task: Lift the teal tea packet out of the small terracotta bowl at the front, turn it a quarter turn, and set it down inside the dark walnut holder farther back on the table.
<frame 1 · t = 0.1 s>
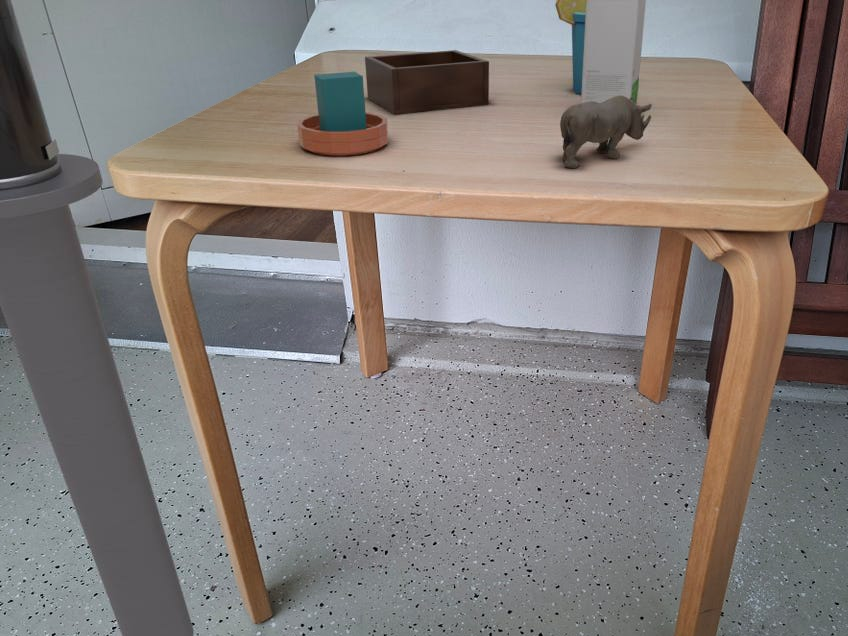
tea packet: (344, 141, 82), resting on bowl
bowl: (344, 145, 82), on the table
holder: (427, 101, 102), on the table
cosmetic box: (607, 115, 96), on the table
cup: (596, 92, 108), on the table
rhino figurine: (606, 156, 79), on the table
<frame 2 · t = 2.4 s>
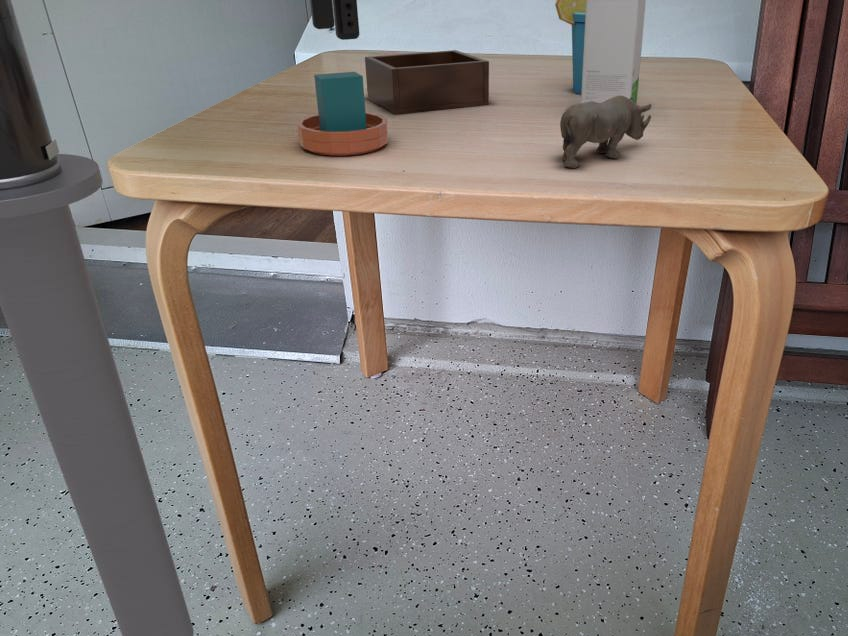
hand: (335, 33, 77), 11 cm above the table, tool pointing down, fingers open, 8 cm apart
nothing on the table moved.
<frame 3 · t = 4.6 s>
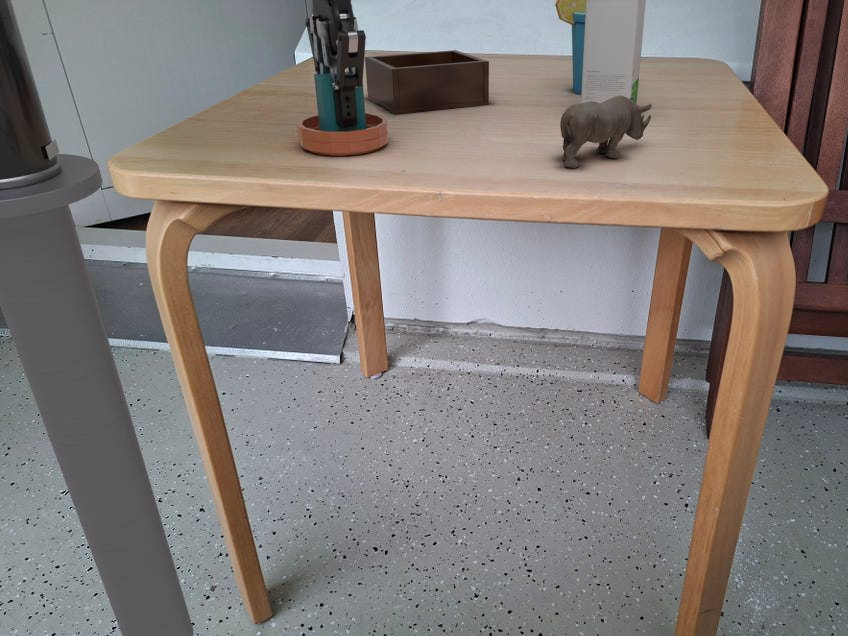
hand: (342, 122, 81), 3 cm above the table, tool pointing down, fingers closed on tea packet, 3 cm apart
tea packet: (344, 141, 82), resting on bowl, touching gripper
everything else where it was.
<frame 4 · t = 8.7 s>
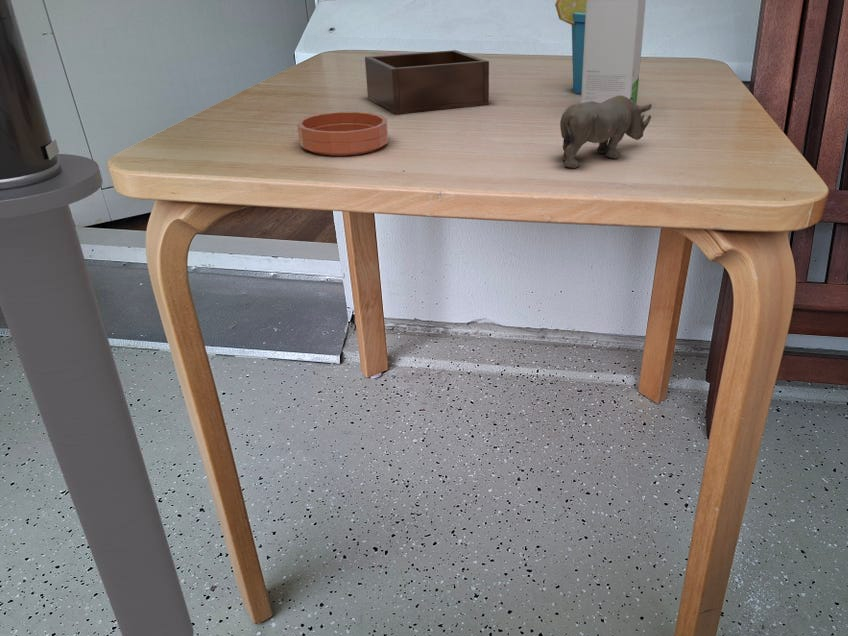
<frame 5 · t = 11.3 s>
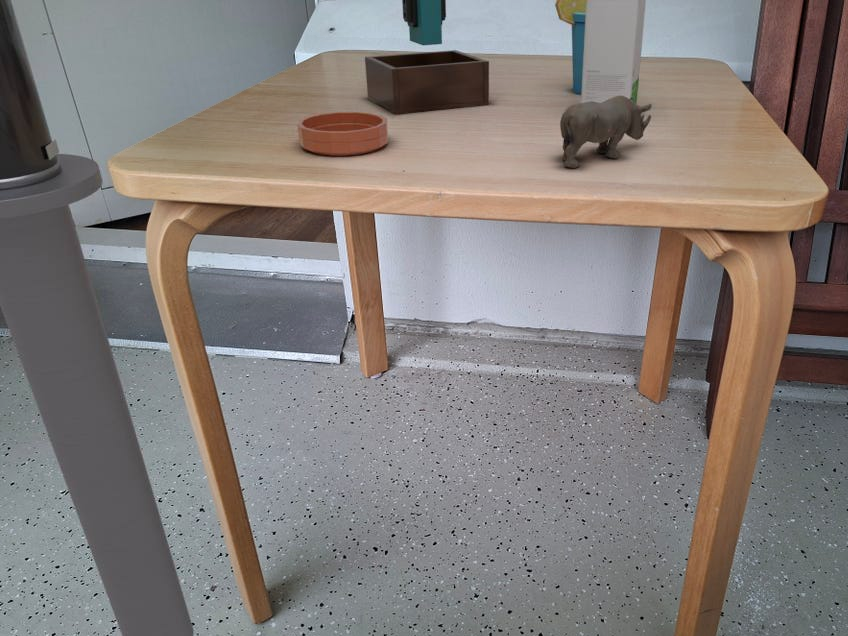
hand: (424, 25, 97), 10 cm above the table, tool pointing down, fingers closed on tea packet, 2 cm apart
tea packet: (425, 42, 98), point 8 cm above the table, touching gripper
everything else where it was.
when the fingers open (3 cm above the table, at t = 13.3 s): tea packet stays where it is, resting on holder.
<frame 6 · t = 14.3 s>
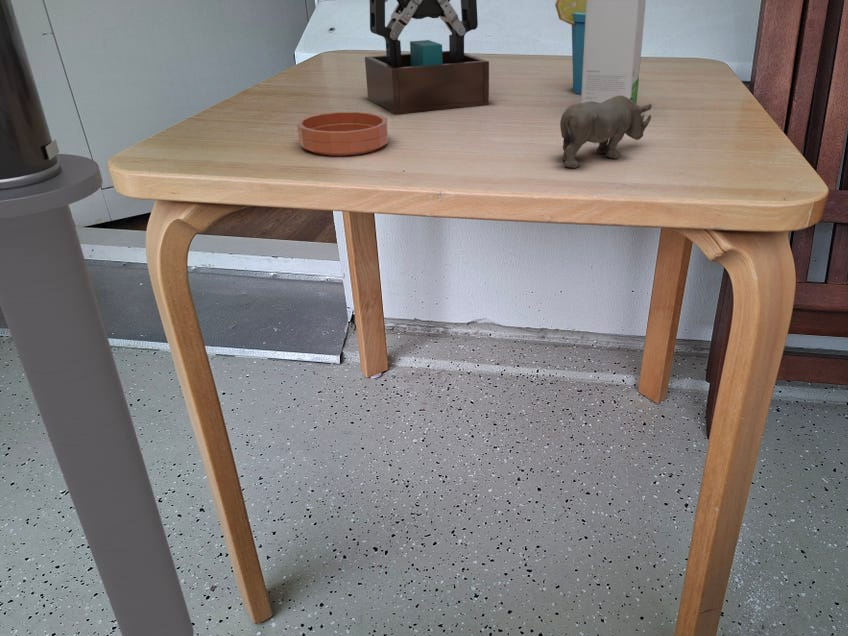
hand: (426, 67, 100), 4 cm above the table, tool pointing down, fingers open, 8 cm apart
tea packet: (427, 97, 102), resting on holder
everything else where it was.
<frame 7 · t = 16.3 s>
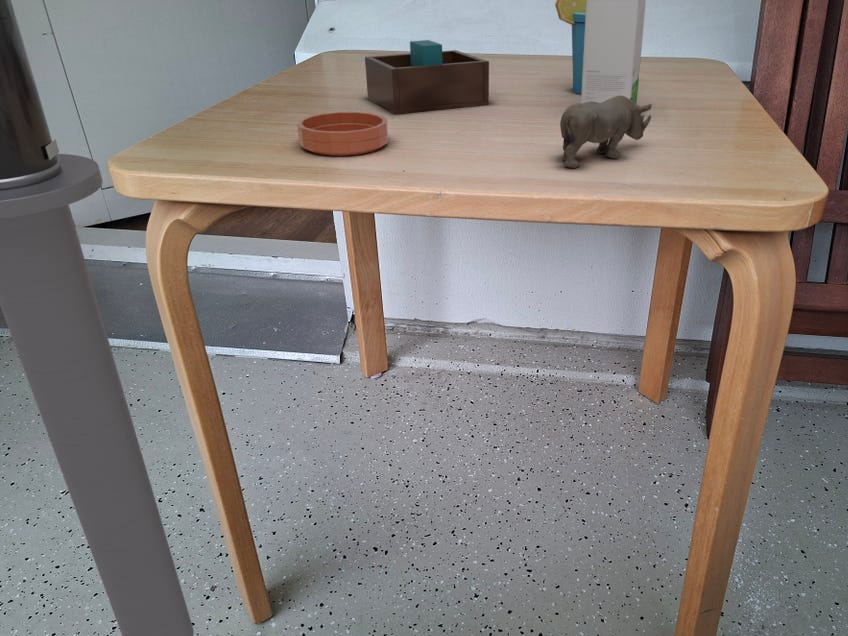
nothing on the table moved.
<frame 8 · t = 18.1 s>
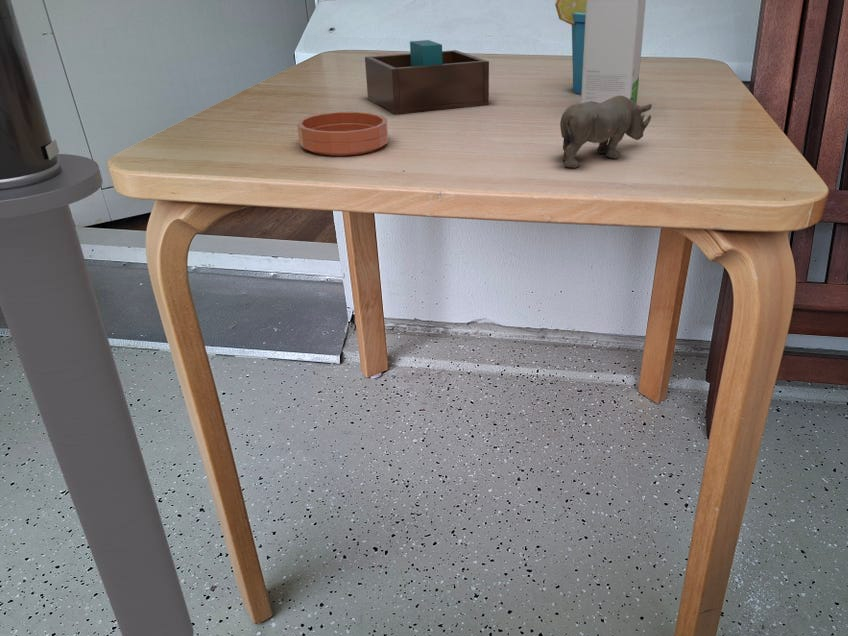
nothing on the table moved.
at the end: tea packet inside the target area in the holder (0.1 cm from its centre), point 0.5 cm above the holder's base; the gripper is holding nothing; tea packet moved 24.1 cm from its start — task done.
